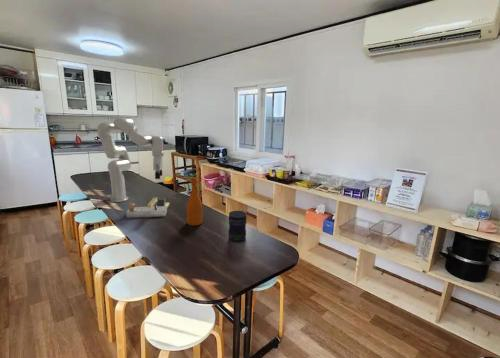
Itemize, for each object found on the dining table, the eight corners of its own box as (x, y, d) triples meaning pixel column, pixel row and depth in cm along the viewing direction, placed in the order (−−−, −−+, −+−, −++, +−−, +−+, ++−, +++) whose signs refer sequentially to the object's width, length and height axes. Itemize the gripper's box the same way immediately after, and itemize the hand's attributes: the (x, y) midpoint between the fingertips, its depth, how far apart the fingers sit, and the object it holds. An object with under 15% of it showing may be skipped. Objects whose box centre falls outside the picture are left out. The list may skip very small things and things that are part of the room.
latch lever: (151, 208, 155) (151, 204, 154) (147, 208, 155) (147, 204, 154) (157, 200, 170) (157, 196, 169) (154, 200, 169) (153, 196, 169)
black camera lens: (239, 244, 133) (240, 218, 130) (224, 239, 138) (225, 214, 135) (249, 237, 141) (250, 213, 138) (235, 233, 146) (235, 209, 143)
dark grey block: (155, 206, 183) (155, 199, 182) (157, 204, 188) (156, 197, 187) (164, 206, 184) (164, 199, 183) (165, 203, 189) (165, 197, 188)
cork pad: (151, 209, 180) (151, 207, 180) (154, 203, 190) (154, 202, 190) (167, 208, 182) (167, 207, 182) (169, 203, 192) (169, 202, 192)
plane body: (126, 217, 163) (125, 204, 161) (130, 212, 172) (129, 199, 170) (165, 216, 168) (164, 203, 165) (166, 211, 176) (166, 199, 174)
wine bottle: (205, 222, 161) (205, 176, 154) (196, 227, 152) (195, 180, 145) (193, 219, 165) (192, 174, 158) (183, 224, 156) (182, 177, 149)
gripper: (154, 152, 184) (155, 174, 188) (149, 155, 168) (151, 180, 172) (165, 152, 186) (165, 174, 190) (161, 155, 169) (162, 180, 173)
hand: (158, 177), depth 181 cm, fingers open, 9 cm apart
